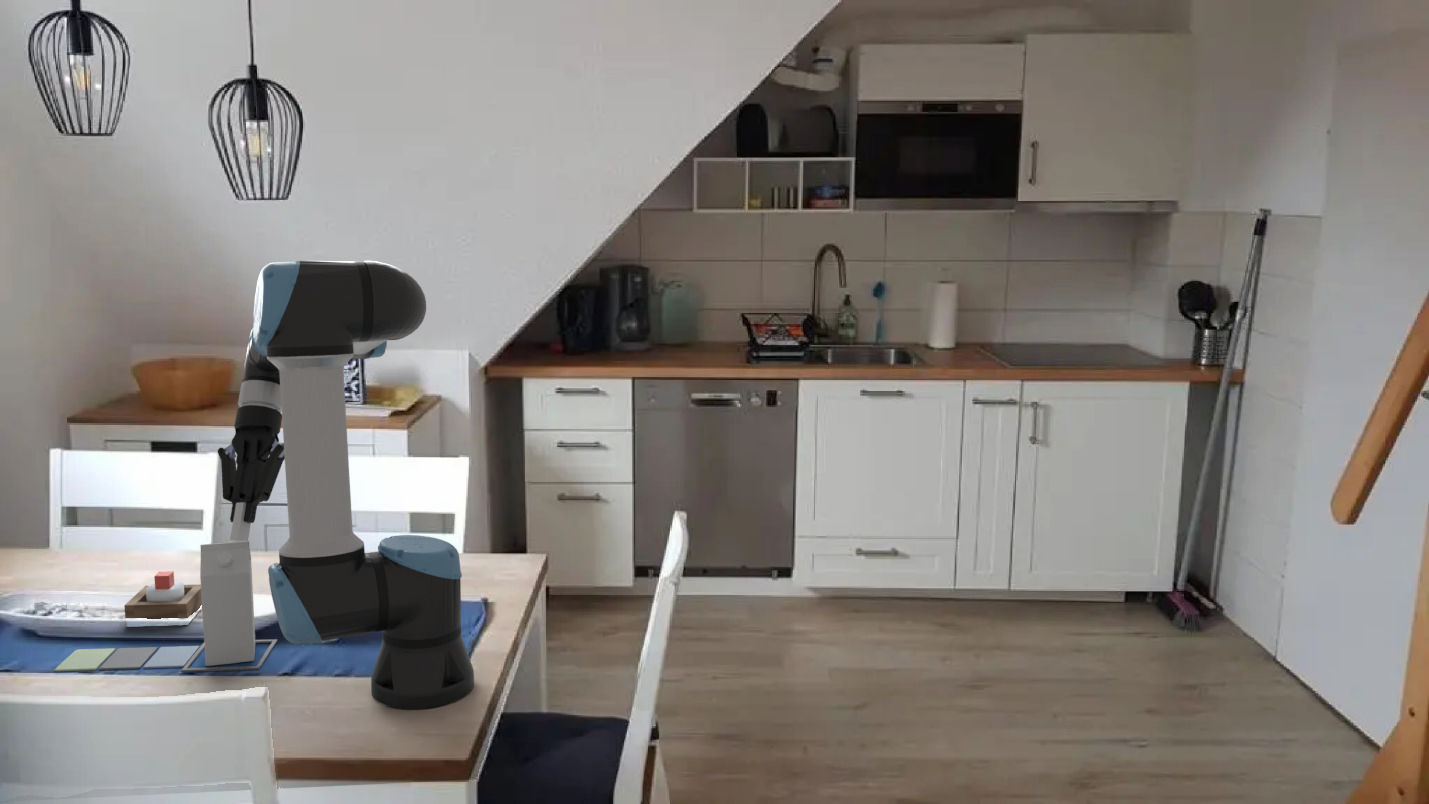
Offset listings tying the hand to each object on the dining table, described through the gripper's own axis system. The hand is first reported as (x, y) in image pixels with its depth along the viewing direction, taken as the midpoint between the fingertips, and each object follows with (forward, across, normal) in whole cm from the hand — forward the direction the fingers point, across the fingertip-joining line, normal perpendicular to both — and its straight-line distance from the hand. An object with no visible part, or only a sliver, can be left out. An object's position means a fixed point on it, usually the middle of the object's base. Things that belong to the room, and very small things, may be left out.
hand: (238, 541), depth 189 cm
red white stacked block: (+10, +18, -7) cm, 22 cm away
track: (+20, +6, +5) cm, 21 cm away
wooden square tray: (+11, +18, -8) cm, 23 cm away
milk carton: (+19, -3, +1) cm, 20 cm away
